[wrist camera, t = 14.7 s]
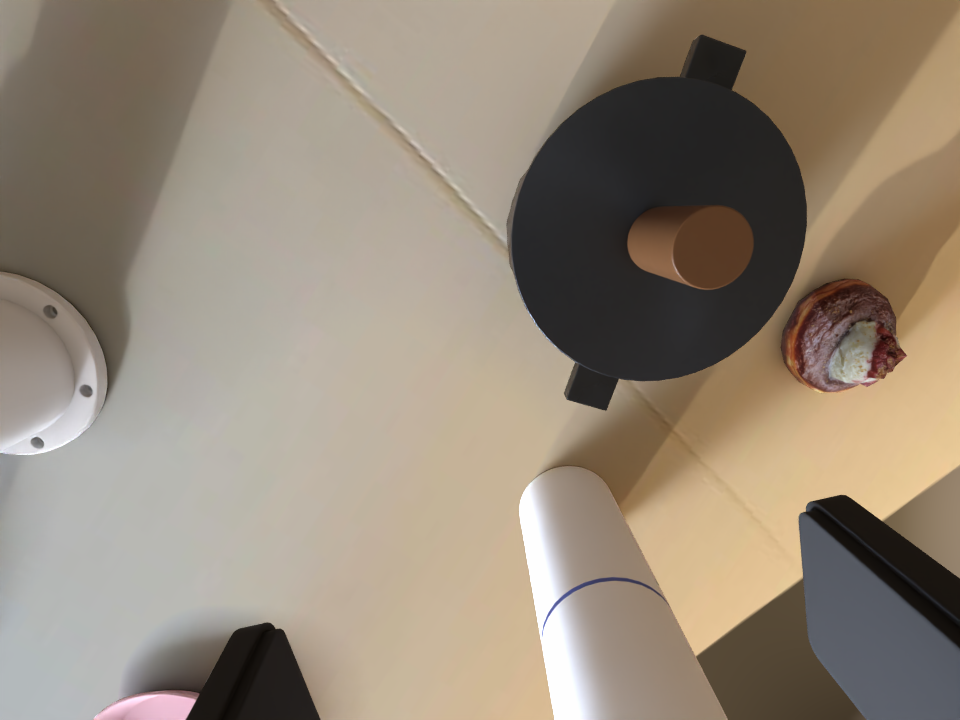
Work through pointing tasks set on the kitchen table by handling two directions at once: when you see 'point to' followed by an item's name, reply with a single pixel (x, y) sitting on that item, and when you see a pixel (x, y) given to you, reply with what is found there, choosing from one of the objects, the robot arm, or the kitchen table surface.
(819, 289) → the pastry
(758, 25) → the kitchen table surface
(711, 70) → the pot
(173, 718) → the plate
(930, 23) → the kitchen table surface
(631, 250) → the lid
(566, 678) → the cylindrical container
